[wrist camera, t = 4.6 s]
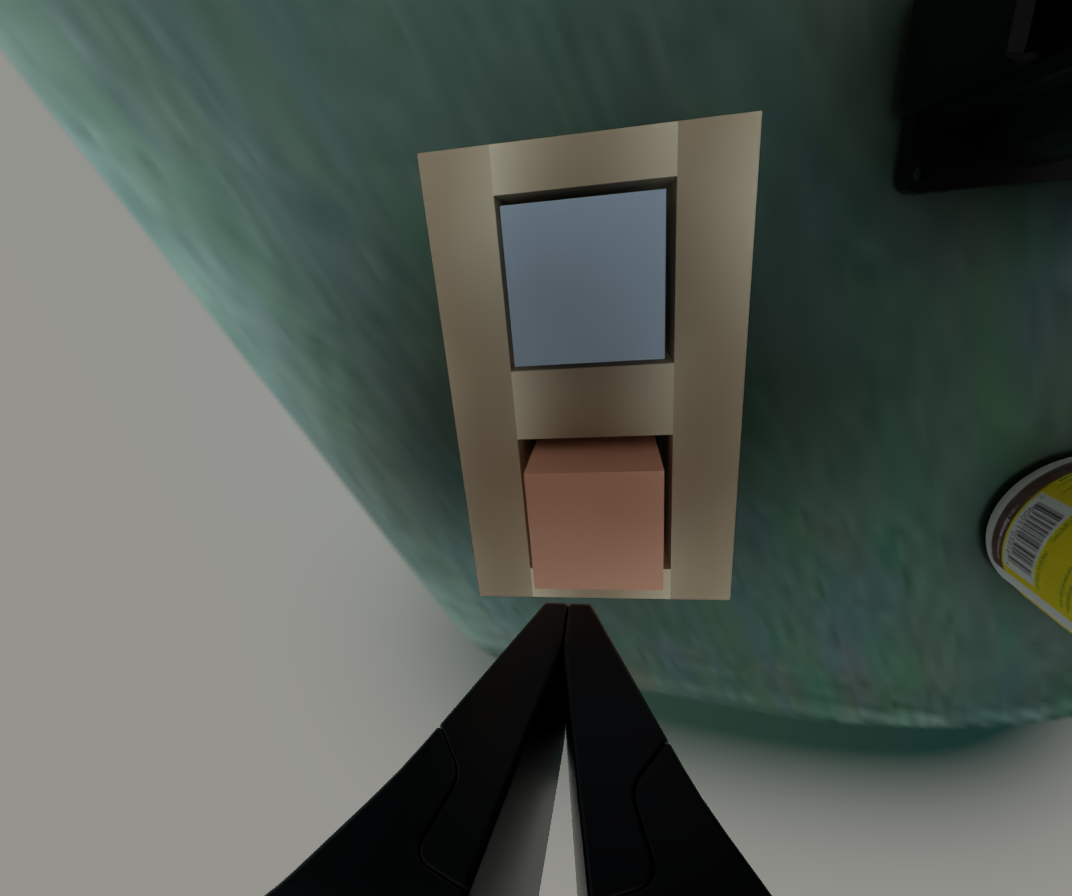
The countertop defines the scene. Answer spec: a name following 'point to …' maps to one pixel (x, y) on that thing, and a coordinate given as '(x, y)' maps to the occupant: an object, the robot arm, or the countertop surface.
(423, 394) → the countertop surface
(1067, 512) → the supplement bottle
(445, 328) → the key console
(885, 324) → the countertop surface
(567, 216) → the light blue square block
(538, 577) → the key terracotta
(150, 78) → the countertop surface
